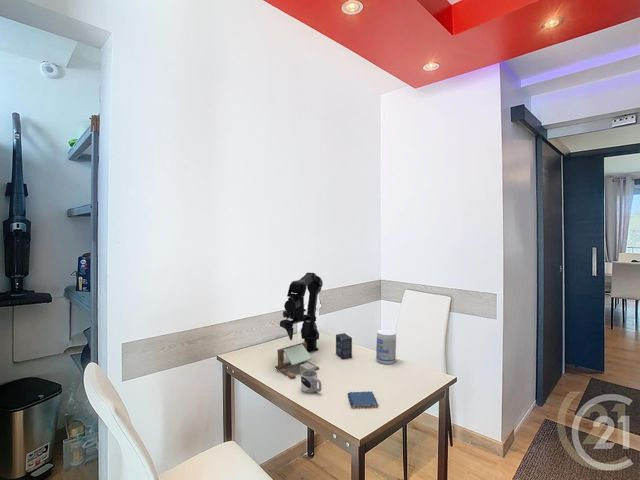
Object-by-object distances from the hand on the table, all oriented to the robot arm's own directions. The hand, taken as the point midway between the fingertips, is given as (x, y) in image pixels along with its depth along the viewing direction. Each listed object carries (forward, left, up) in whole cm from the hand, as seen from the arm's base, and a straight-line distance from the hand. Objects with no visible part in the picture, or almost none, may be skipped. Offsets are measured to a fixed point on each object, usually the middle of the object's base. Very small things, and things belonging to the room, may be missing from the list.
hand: (298, 337), depth 164 cm
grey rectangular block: (+6, +12, -10) cm, 16 cm away
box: (-22, +9, -12) cm, 27 cm away
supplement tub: (-34, +27, -12) cm, 45 cm away
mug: (+13, +27, -12) cm, 32 cm away
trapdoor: (+6, +6, -5) cm, 10 cm away
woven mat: (+3, +46, -13) cm, 48 cm away
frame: (+6, +6, -12) cm, 15 cm away
